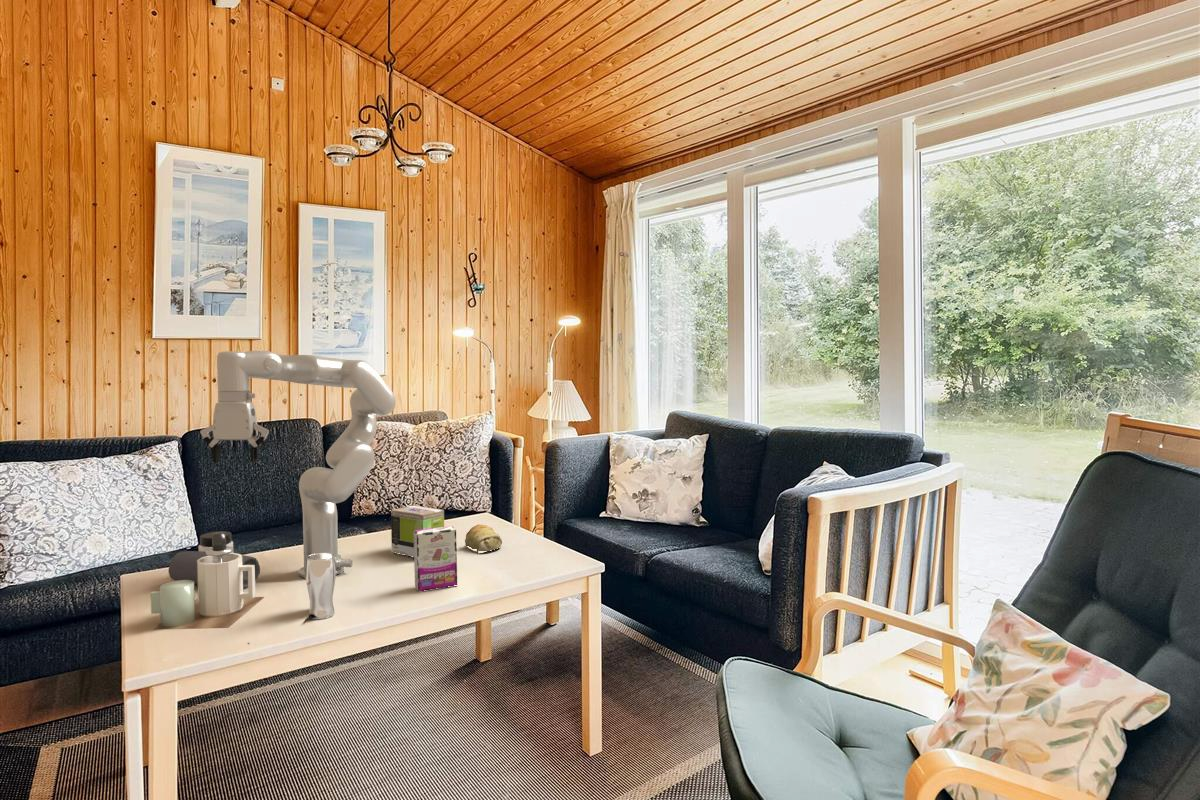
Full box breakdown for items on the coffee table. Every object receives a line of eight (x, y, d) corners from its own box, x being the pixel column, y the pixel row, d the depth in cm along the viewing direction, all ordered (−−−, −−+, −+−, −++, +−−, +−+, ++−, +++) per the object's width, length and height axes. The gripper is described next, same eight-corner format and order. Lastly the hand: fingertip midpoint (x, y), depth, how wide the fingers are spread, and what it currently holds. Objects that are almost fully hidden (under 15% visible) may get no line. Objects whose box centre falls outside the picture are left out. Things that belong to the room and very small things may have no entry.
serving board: (264, 601, 184) (264, 596, 184) (228, 632, 163) (228, 627, 163) (197, 602, 182) (197, 598, 182) (152, 634, 161) (152, 629, 161)
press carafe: (262, 602, 179) (260, 552, 179) (246, 616, 170) (244, 563, 169) (210, 603, 178) (208, 553, 178) (191, 617, 169) (189, 564, 168)
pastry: (470, 542, 243) (470, 519, 243) (506, 543, 242) (505, 520, 242) (459, 553, 229) (459, 529, 229) (496, 555, 228) (496, 530, 228)
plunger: (240, 594, 177) (238, 529, 176) (228, 603, 171) (226, 536, 170) (213, 594, 177) (211, 530, 176) (200, 603, 170) (198, 537, 169)
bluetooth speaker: (262, 585, 196) (261, 550, 195) (238, 596, 187) (237, 560, 186) (194, 579, 201) (193, 545, 201) (167, 590, 192) (166, 554, 192)
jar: (200, 581, 200) (199, 539, 199) (198, 573, 207) (197, 533, 206) (235, 575, 205) (234, 535, 204) (232, 568, 212) (231, 529, 211)
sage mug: (200, 615, 170) (199, 579, 169) (186, 627, 163) (184, 589, 162) (160, 616, 169) (159, 580, 169) (144, 628, 162) (143, 590, 162)
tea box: (445, 553, 229) (445, 509, 228) (422, 561, 221) (422, 514, 220) (413, 546, 237) (413, 503, 236) (390, 553, 229) (389, 509, 228)
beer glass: (311, 610, 177) (310, 552, 176) (339, 609, 178) (338, 551, 177) (302, 620, 170) (301, 560, 169) (331, 620, 171) (330, 559, 170)
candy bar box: (452, 581, 201) (452, 525, 200) (457, 586, 196) (457, 529, 195) (413, 587, 196) (413, 529, 195) (417, 592, 191) (417, 533, 190)
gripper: (273, 396, 190) (274, 459, 191) (207, 396, 189) (208, 459, 190) (261, 398, 183) (263, 463, 184) (193, 398, 181) (195, 463, 182)
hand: (235, 461), depth 187 cm, fingers open, 9 cm apart
